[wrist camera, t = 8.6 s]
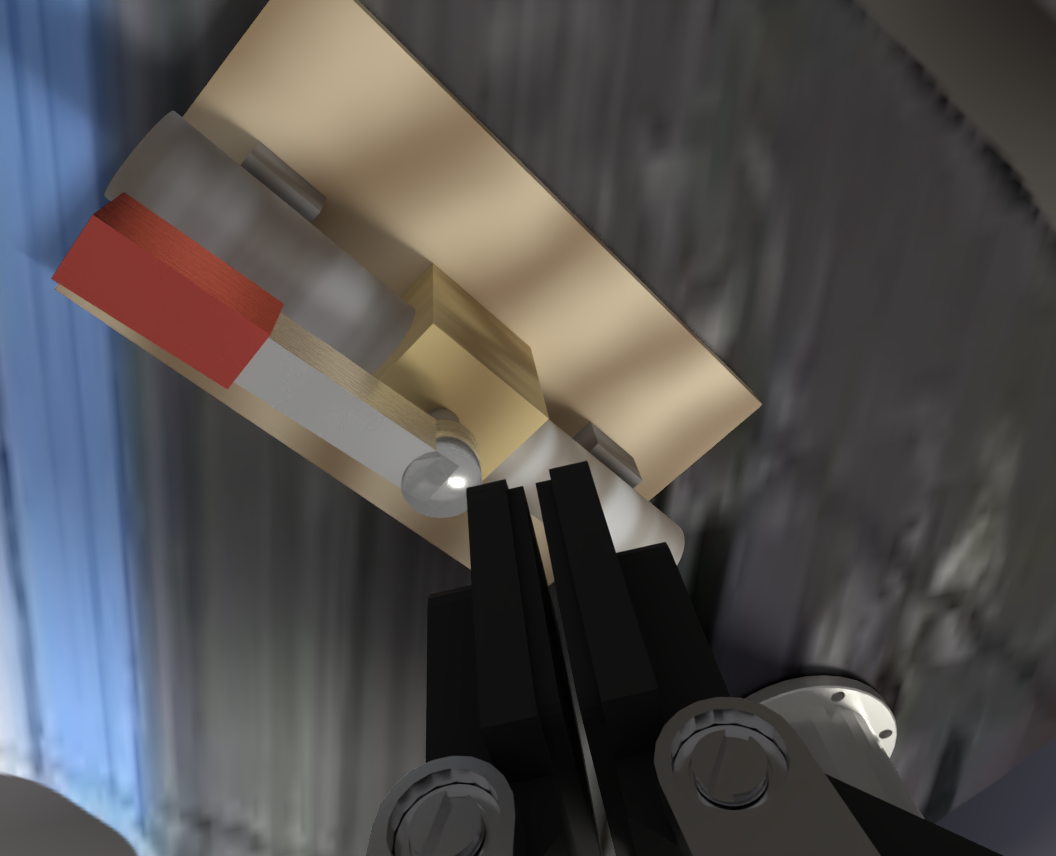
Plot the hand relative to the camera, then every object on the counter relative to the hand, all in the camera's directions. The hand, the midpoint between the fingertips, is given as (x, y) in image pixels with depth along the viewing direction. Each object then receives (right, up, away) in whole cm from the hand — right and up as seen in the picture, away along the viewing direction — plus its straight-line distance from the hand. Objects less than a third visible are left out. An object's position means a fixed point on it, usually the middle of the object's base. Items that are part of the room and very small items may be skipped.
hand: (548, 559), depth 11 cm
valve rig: (-4, +6, +25) cm, 26 cm away
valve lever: (-7, +4, +14) cm, 17 cm away
